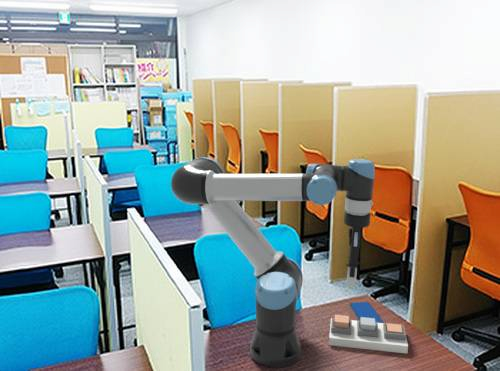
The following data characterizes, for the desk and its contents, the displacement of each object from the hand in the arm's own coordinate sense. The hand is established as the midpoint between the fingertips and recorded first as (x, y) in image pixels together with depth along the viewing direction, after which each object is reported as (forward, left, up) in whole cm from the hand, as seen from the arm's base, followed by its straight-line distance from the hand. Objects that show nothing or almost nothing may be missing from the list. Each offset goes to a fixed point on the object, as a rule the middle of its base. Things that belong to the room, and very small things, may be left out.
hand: (350, 285), depth 143 cm
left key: (-2, 0, -14) cm, 14 cm away
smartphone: (+6, +16, -18) cm, 25 cm away
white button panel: (+6, 0, -18) cm, 19 cm away
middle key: (+6, 0, -14) cm, 15 cm away
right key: (+14, 0, -15) cm, 20 cm away
